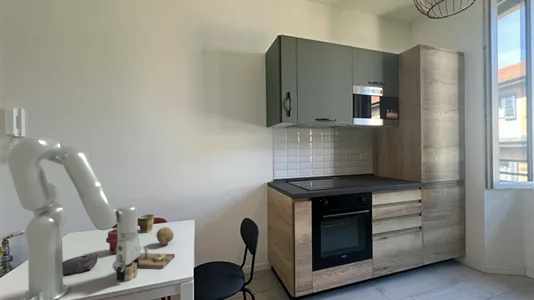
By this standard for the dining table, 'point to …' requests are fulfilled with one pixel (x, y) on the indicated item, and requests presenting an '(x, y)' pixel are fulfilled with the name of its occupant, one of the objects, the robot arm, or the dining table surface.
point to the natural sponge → (164, 235)
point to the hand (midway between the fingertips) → (128, 274)
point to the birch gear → (130, 271)
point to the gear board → (154, 260)
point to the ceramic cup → (146, 223)
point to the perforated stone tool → (79, 264)
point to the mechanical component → (113, 240)
